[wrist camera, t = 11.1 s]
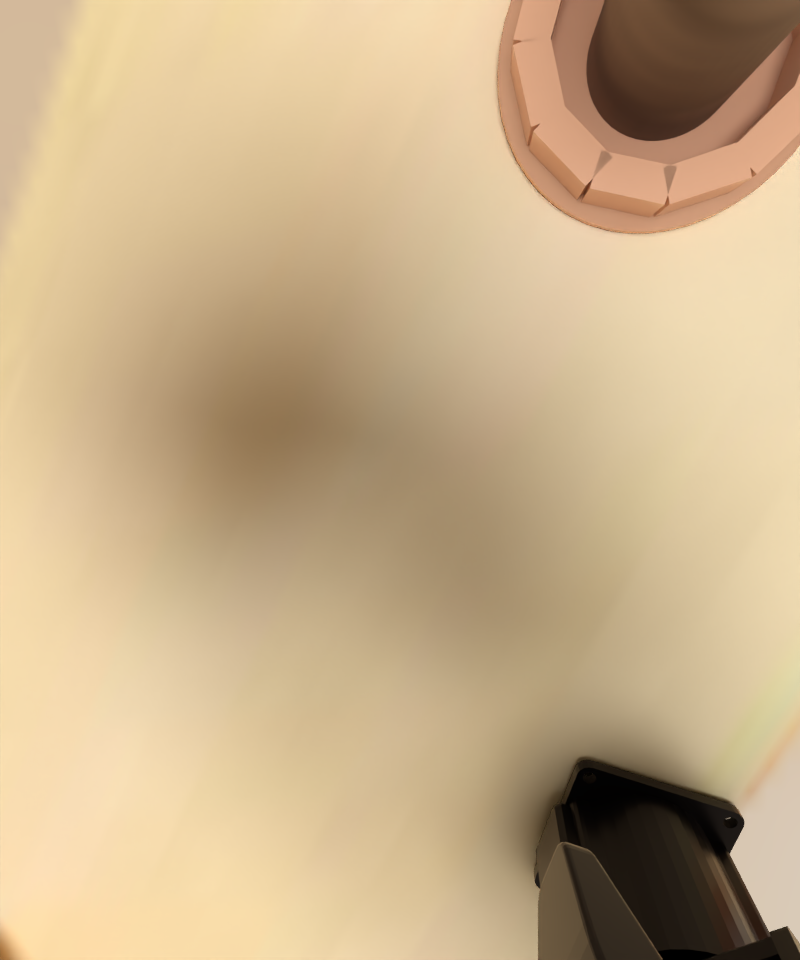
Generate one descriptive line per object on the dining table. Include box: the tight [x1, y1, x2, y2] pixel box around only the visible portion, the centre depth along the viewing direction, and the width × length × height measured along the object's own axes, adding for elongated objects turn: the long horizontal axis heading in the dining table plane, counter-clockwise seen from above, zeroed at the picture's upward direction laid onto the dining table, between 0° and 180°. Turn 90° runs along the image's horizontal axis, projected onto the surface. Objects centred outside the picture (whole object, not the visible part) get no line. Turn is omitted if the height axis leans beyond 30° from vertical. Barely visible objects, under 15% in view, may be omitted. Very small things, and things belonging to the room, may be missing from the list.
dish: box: [498, 0, 800, 233], centre depth 15 cm, size 10×10×2 cm
